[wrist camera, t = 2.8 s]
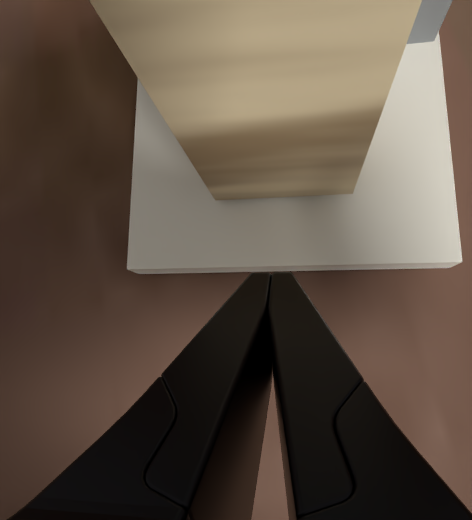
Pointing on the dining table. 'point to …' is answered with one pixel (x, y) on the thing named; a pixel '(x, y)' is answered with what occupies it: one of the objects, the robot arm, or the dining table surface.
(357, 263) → the block holder base
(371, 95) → the peg
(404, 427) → the dining table surface
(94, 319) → the dining table surface
